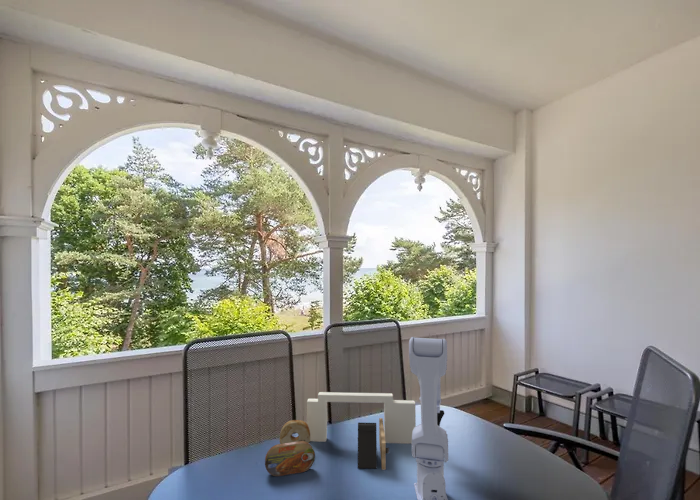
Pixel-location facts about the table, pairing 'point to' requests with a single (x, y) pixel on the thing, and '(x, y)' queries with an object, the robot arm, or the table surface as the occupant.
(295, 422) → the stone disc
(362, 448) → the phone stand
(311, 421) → the door frame
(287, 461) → the tin
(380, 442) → the door
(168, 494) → the table surface
